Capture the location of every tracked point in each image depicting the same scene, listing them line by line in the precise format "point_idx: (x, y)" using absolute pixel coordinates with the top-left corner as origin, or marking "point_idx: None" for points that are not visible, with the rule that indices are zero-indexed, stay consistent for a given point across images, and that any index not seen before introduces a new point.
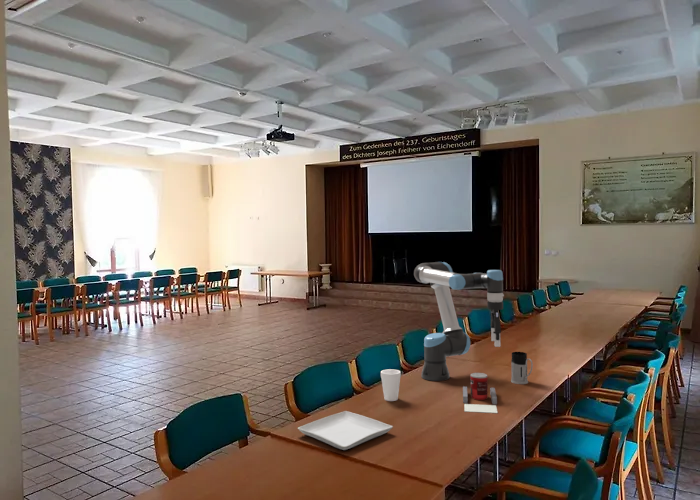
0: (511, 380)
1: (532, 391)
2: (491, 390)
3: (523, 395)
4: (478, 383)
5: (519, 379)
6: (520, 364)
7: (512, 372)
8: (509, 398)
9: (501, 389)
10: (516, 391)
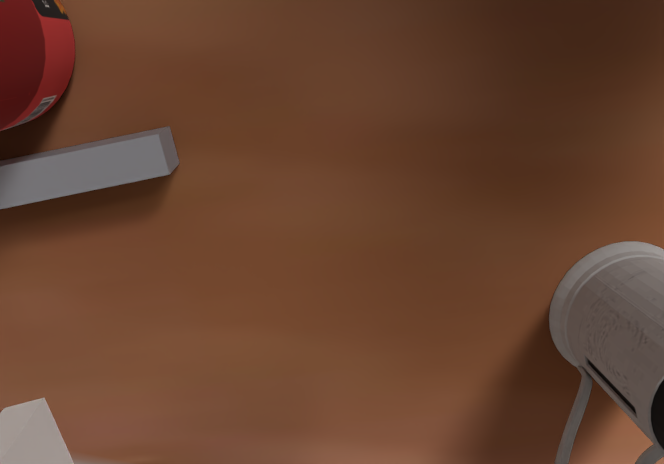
0: (613, 253)
1: (365, 427)
2: (62, 160)
3: (231, 381)
4: None
5: (573, 334)
6: (654, 422)
7: (639, 294)
8: (102, 295)
9: (341, 200)
10: (323, 321)
